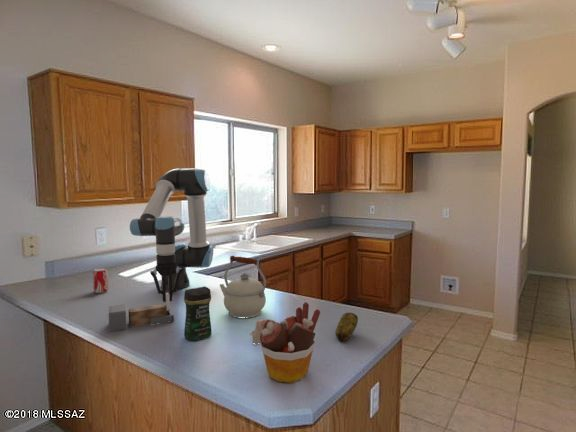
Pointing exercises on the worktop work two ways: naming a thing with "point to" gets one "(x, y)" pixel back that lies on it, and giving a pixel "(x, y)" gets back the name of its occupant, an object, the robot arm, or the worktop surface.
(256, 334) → the architectural model
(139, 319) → the walnut rail
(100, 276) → the soda can
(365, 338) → the worktop surface
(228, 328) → the worktop surface
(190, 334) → the coffee jar
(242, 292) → the kettle
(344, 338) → the potato
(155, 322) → the open end cap
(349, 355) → the worktop surface
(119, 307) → the roofed end cap
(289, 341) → the bucket of meat
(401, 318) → the worktop surface
